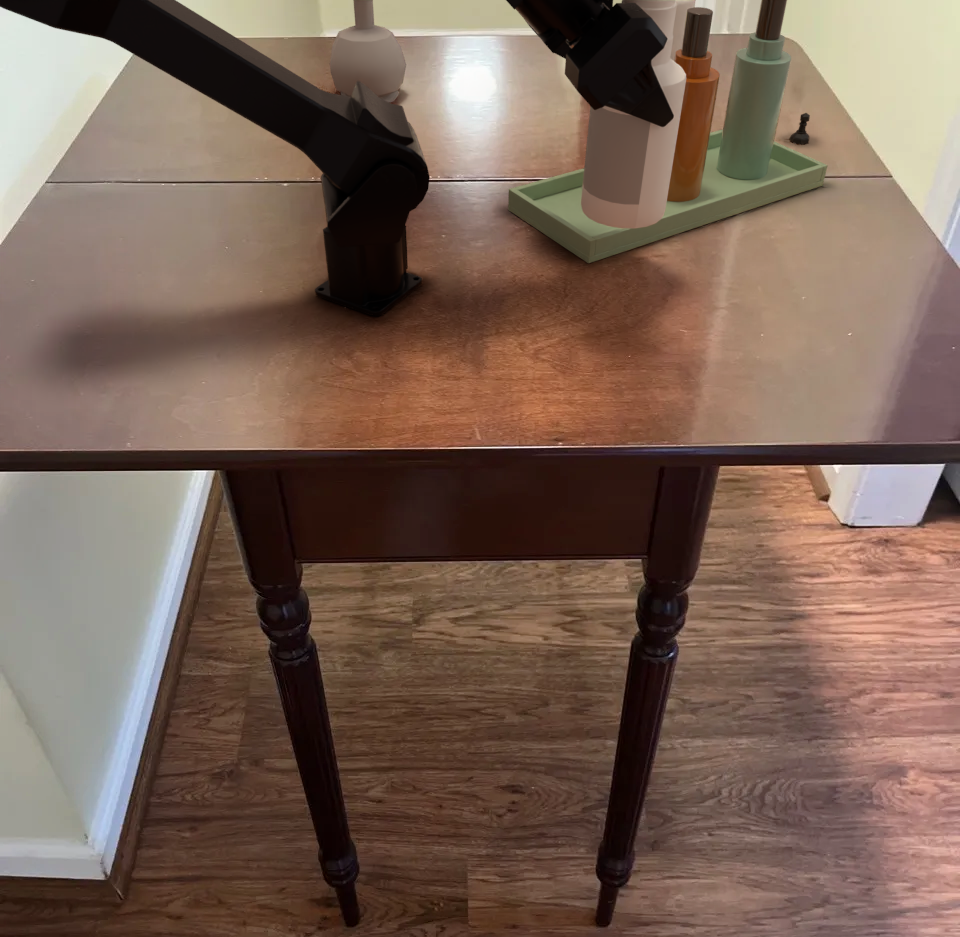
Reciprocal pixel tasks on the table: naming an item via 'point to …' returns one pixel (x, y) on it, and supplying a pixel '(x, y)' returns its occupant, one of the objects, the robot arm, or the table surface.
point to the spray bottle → (634, 145)
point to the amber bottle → (694, 107)
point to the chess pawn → (801, 131)
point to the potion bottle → (367, 56)
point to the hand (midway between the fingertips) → (653, 104)
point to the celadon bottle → (755, 98)
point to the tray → (721, 196)
